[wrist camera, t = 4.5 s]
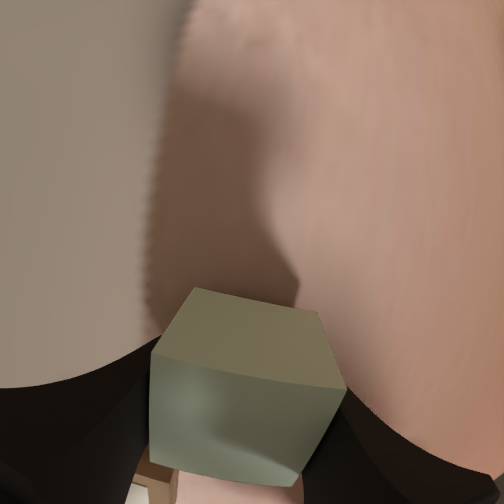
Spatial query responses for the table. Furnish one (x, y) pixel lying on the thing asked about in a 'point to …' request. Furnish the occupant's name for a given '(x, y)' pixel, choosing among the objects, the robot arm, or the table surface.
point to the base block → (153, 483)
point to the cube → (241, 389)
